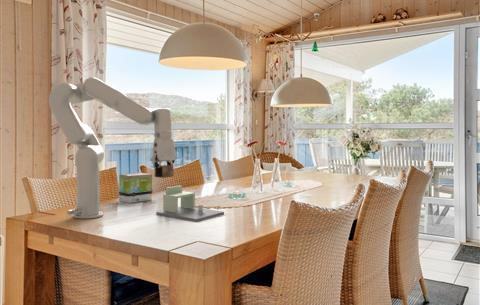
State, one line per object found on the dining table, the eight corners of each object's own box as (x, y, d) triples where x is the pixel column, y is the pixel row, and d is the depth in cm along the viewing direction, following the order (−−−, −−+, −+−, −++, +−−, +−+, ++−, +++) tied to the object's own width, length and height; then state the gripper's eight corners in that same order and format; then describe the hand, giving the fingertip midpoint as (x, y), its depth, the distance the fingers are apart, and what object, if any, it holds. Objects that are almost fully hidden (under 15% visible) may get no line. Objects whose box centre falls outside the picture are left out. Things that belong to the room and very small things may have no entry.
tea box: (130, 203, 216) (130, 175, 215) (118, 201, 222) (118, 174, 221) (152, 200, 228) (152, 173, 227) (140, 198, 234) (140, 172, 233)
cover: (175, 212, 187) (176, 189, 187) (163, 210, 192) (163, 188, 191) (194, 208, 198) (195, 186, 198) (182, 206, 203) (182, 185, 202)
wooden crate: (164, 177, 182) (164, 166, 181) (154, 177, 185) (154, 165, 185) (173, 176, 187) (173, 165, 186) (164, 175, 190) (163, 164, 190)
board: (196, 221, 176) (196, 209, 176) (156, 214, 190) (156, 203, 189) (224, 214, 193) (224, 203, 192) (185, 208, 206) (185, 197, 206)
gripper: (155, 136, 176) (156, 178, 177) (182, 135, 190) (183, 174, 191) (142, 136, 180) (144, 177, 181) (170, 135, 194) (171, 173, 195)
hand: (164, 175), depth 186 cm, fingers closed on wooden crate, 6 cm apart
